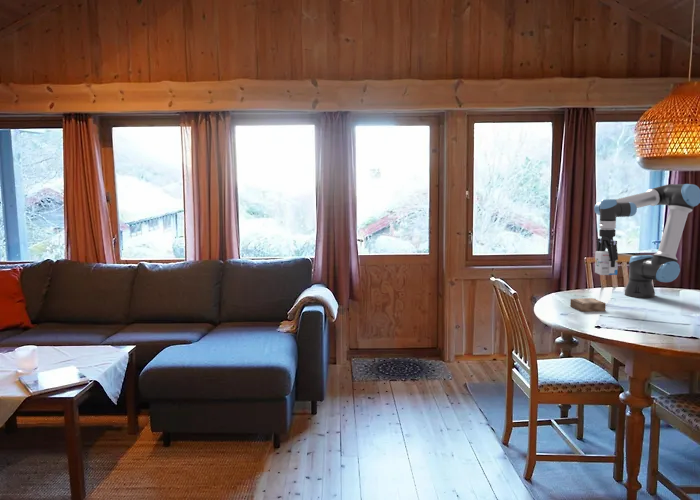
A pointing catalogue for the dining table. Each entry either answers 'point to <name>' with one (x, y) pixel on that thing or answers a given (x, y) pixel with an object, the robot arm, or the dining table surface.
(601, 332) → the dining table surface
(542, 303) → the dining table surface
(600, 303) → the walnut frame
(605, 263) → the ink box
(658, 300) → the dining table surface
